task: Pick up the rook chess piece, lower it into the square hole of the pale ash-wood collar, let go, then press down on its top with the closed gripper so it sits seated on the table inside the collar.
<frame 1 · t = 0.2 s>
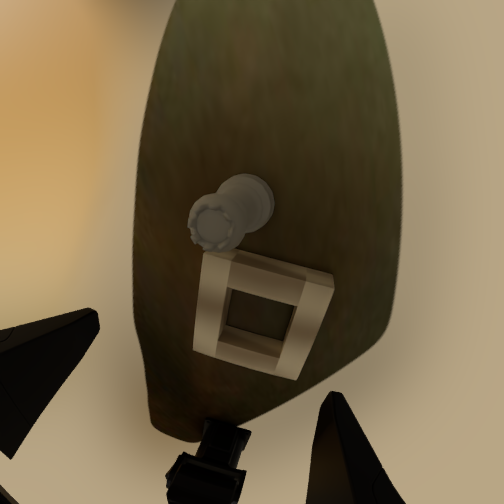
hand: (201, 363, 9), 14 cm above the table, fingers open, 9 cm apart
rook chess piece: (247, 201, 21), on the table
socket collar: (260, 309, 24), on the table
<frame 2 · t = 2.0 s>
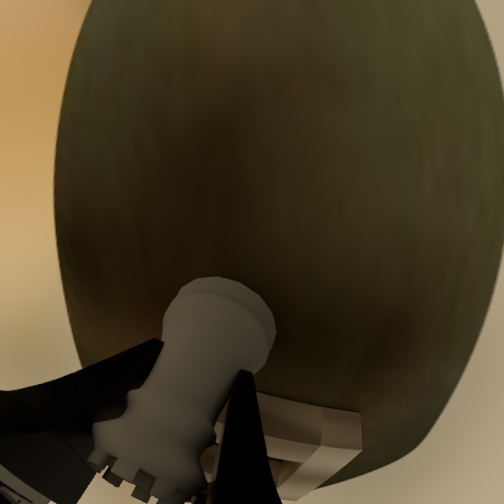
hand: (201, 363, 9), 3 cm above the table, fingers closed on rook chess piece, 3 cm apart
rook chess piece: (226, 316, 11), on the table, touching gripper
socket collar: (251, 437, 14), on the table
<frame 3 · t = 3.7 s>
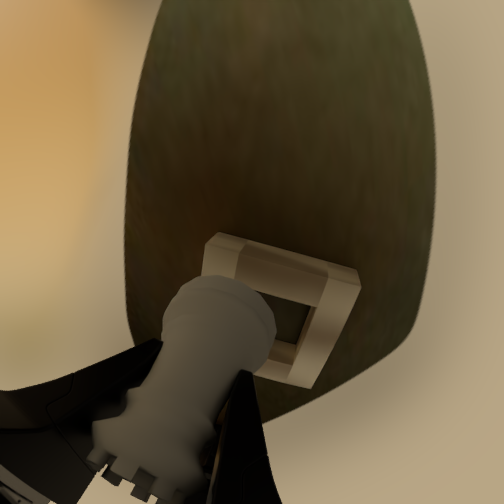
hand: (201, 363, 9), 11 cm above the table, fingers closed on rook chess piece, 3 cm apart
rook chess piece: (226, 315, 11), point 8 cm above the table, touching gripper
socket collar: (271, 309, 21), on the table
when the fingers open (3 cm above the table, at t = 5.6 s): rook chess piece stays where it is, resting in socket collar.
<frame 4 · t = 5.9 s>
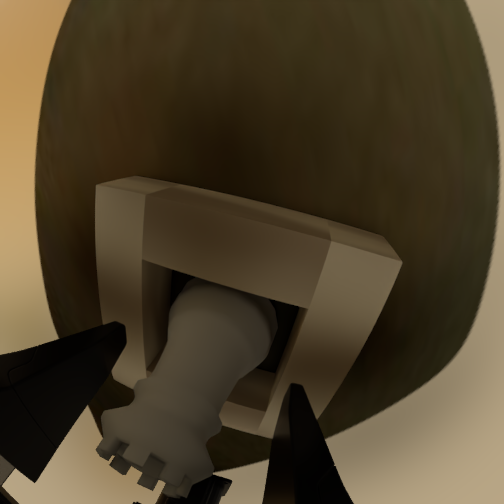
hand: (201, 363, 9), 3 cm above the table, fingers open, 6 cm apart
rook chess piece: (229, 311, 12), resting in socket collar
socket collar: (228, 313, 12), on the table
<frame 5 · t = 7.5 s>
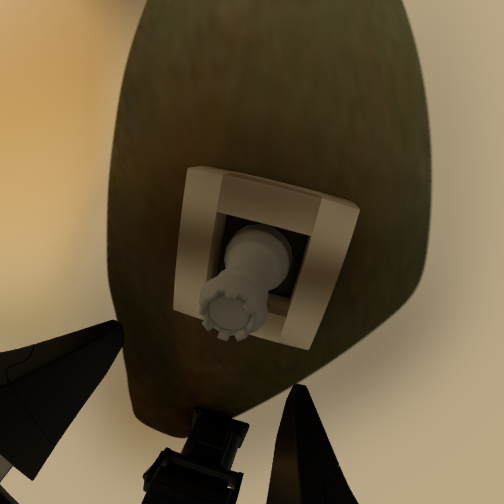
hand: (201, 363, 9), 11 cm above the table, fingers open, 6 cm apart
rook chess piece: (261, 252, 19), resting in socket collar
socket collar: (260, 253, 19), on the table
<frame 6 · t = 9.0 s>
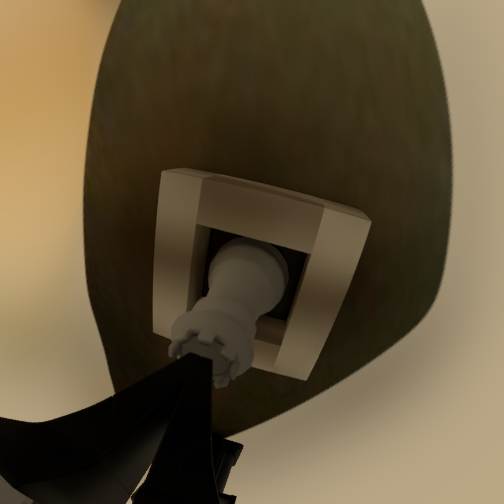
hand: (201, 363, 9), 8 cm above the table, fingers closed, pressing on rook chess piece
rook chess piece: (252, 269, 16), resting in socket collar, touching gripper
socket collar: (251, 270, 16), on the table
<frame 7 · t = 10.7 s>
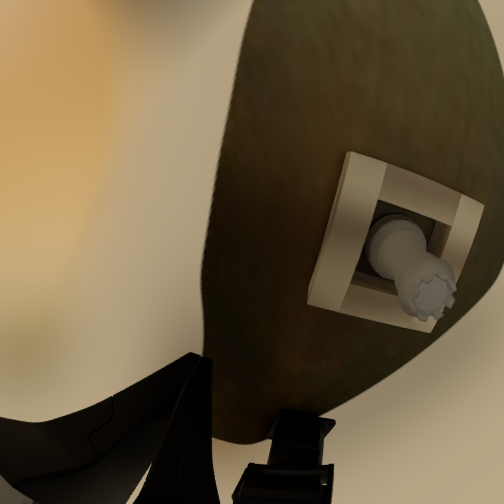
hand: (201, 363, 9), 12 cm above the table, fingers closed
rook chess piece: (392, 242, 18), resting in socket collar
socket collar: (393, 242, 17), on the table
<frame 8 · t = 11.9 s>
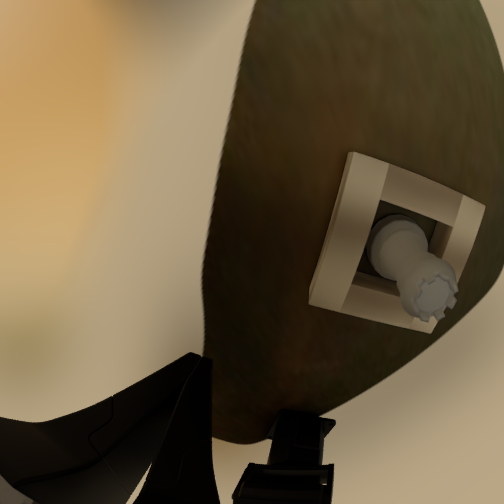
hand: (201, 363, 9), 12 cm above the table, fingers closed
rook chess piece: (393, 242, 18), resting in socket collar
socket collar: (394, 243, 17), on the table
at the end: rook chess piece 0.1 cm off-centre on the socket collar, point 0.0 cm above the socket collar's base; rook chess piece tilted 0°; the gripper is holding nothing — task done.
